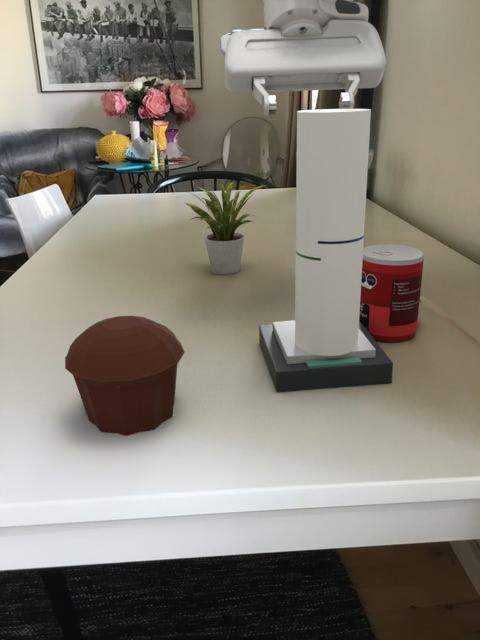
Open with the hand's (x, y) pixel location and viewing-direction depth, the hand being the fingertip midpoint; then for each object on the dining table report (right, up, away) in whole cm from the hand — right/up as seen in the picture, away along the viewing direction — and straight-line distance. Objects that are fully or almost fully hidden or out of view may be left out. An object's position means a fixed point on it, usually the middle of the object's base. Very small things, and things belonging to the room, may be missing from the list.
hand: (309, 110), depth 69 cm
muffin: (-20, -35, -10) cm, 42 cm away
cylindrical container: (+1, -28, -4) cm, 29 cm away
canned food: (+11, -27, +7) cm, 30 cm away
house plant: (-10, -16, +36) cm, 40 cm away
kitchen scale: (+1, -31, -1) cm, 31 cm away
